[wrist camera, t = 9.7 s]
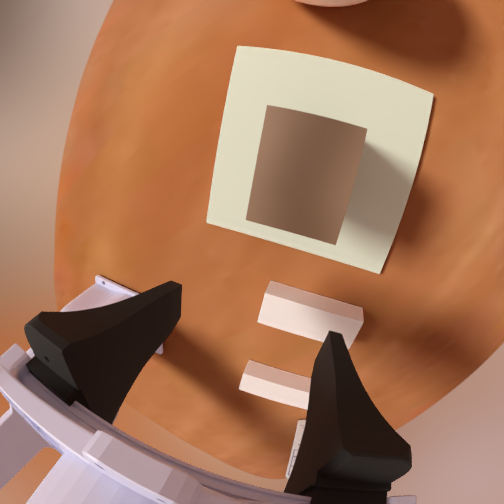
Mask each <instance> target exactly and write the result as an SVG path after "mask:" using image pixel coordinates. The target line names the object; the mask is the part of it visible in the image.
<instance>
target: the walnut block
mask: <svg viewBox="0 0 504 504" xmlns="http://www.w3.org/2000/svg"><path fill="white" fill-rule="evenodd" d="M366 133H367V129H366V128H363V127H360V126H357V125H353V124H350V123H346V122H343V121H339V120H335V119H331V118H328V117H324V116H319V115H315V114H311V113H306V112H302V111H297V110H292V109H287V108H282V107H277V106H271V105H267V108H266V113H265V119H264V124H263V129H262V134H261V139H260V145H259V150H258V155H257V161H256V166H255V171H254V177H253V182H252V188H251V193H250V198H249V204H248V209H247V215H246V220H247V221H251V222H255V223H258V224H262V225H266V226H269V227H273V228H277V229H280V230H284V231H287V232H291V233H295V234H298V235H302V236H305V237H309V238H312V239H315V240H319V241H322V242H326V243H329V244H333V245H336V243H337V240H338V237H339V233H340V230H341V227H342V224H343V220H344V217H345V214H346V210H347V207H348V203H349V200H350V196H351V193H352V189H353V186H354V182H355V178H356V174H357V171H358V167H359V163H360V159H361V155H362V151H363V146H364V142H365V138H366Z"/></svg>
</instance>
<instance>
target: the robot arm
mask: <svg viewBox="0 0 504 504" xmlns="http://www.w3.org/2000/svg"><path fill="white" fill-rule="evenodd" d="M95 281H96V283H95V284H94V285H92V286H91V287H89V288H88V289H87V290H85V291H84V292H83V293H81V294H80V295H79V296H78V297H76V298H75V299H74V300H72V301H71V302H70V303H68V304H67V305H66V306H65V307H64V308H63V309H62V310H61V311H60V312H41V313H39V314H38V315H37V316H36V317H34V318H33V319H32V320H31V321H29V322H28V323H27V324H26V325H25V328H24V330H25V334H26V337H27V339H28V342H29V344H30V346H31V348H30V349H29V350H28V351H26V352H25V351H24V350H23V349H22V348H21V347H20V346H19V345H18V344H14V345H13V346H12V347H11V348H9V350H7V351H6V352H5V353H4V354H3V355H2V356H0V392H1V393H2V394H3V396H4V397H5V398H6V400H7V401H8V402H9V404H10V409H9V410H8V411H7V412H6V413H5V414H4V415H3V416H2V417H1V418H0V489H1V488H2V487H4V486H5V485H6V484H7V483H8V482H9V481H10V480H11V479H12V478H13V477H14V476H15V475H16V474H17V473H18V472H19V471H20V470H21V469H22V468H23V467H24V466H25V465H26V464H27V463H28V462H29V461H30V460H31V459H32V458H33V457H34V456H35V455H36V454H37V453H38V452H39V451H40V450H41V449H42V448H43V447H50V448H55V449H56V450H57V451H59V452H60V453H61V454H62V456H61V458H60V459H59V460H58V461H57V463H56V464H55V465H54V467H53V468H52V469H51V471H50V472H49V473H48V475H47V476H46V477H45V479H44V480H43V481H42V483H41V484H40V485H39V487H38V488H37V489H36V491H35V492H34V493H33V495H32V496H31V497H30V499H29V500H28V501H27V503H26V504H416V495H405V496H392V497H388V498H387V492H388V491H390V490H391V482H393V481H395V480H396V479H398V478H400V477H401V476H403V475H405V474H406V473H407V472H408V471H409V470H410V469H411V467H412V457H411V447H410V445H409V444H408V443H407V442H406V441H405V440H404V439H403V438H402V437H401V436H400V435H399V434H398V433H397V432H395V430H394V429H393V428H392V427H391V426H390V425H389V424H388V422H387V421H386V420H385V419H384V417H383V416H382V415H381V413H380V412H379V411H378V409H377V408H376V407H375V405H374V404H373V402H372V400H371V399H370V397H369V395H368V394H367V392H366V390H365V389H364V387H363V385H362V383H361V381H360V378H359V376H358V374H357V372H356V370H355V367H354V365H353V362H352V360H351V357H350V355H349V352H348V349H347V346H346V344H345V341H344V338H343V335H342V334H341V333H337V332H334V331H330V330H329V332H328V334H327V336H326V339H325V341H324V343H323V345H322V347H321V349H320V351H319V353H318V355H317V357H316V359H315V363H314V367H313V372H312V376H311V383H310V392H309V401H308V410H307V418H306V423H305V428H304V432H303V436H302V439H301V443H300V446H299V450H298V453H297V456H296V460H295V463H294V466H293V469H292V471H291V474H290V477H289V480H288V483H287V485H286V488H285V490H284V492H279V491H274V490H270V489H265V488H261V487H257V486H253V485H250V484H246V483H242V482H239V481H236V480H232V479H229V478H226V477H223V476H220V475H217V474H214V473H211V472H209V471H205V470H203V469H200V468H198V467H195V466H193V465H190V464H188V463H185V462H182V461H181V460H178V459H176V458H174V457H172V456H169V455H167V454H165V453H163V452H160V451H158V450H157V449H155V448H153V447H151V446H149V445H147V444H145V443H143V442H141V441H139V440H137V439H135V438H134V437H132V436H130V435H128V434H126V433H125V432H123V431H121V430H119V429H118V428H116V427H114V426H113V425H112V424H113V423H114V421H115V420H116V418H117V415H118V411H119V408H120V407H121V405H122V403H123V401H124V399H125V397H126V395H127V393H128V392H129V390H130V388H131V386H132V385H133V383H134V381H135V380H136V378H137V376H138V375H139V373H140V372H141V370H142V368H143V367H144V366H145V364H146V363H147V362H148V360H149V359H150V358H151V357H152V355H153V354H154V353H155V352H156V353H158V354H162V353H163V342H164V341H165V340H166V338H167V337H168V336H169V335H170V333H171V332H172V330H173V329H174V327H175V326H176V324H177V322H178V321H179V319H180V317H181V295H182V284H179V283H176V282H173V281H169V282H166V283H164V284H162V285H159V286H157V287H155V288H152V289H150V290H148V291H145V292H143V293H140V294H139V293H137V292H134V291H132V290H130V289H128V288H125V287H123V286H121V285H119V284H117V283H115V282H112V281H110V280H108V279H106V278H104V277H102V276H100V275H97V276H96V277H95Z"/></svg>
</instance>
